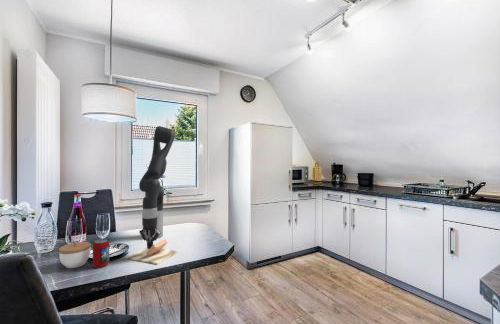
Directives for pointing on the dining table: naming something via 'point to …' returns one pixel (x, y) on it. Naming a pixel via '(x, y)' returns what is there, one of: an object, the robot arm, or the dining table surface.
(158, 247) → the tile
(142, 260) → the striped cloth
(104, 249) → the beverage can
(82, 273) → the dining table surface
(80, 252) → the lidded bowl
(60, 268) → the dining table surface
